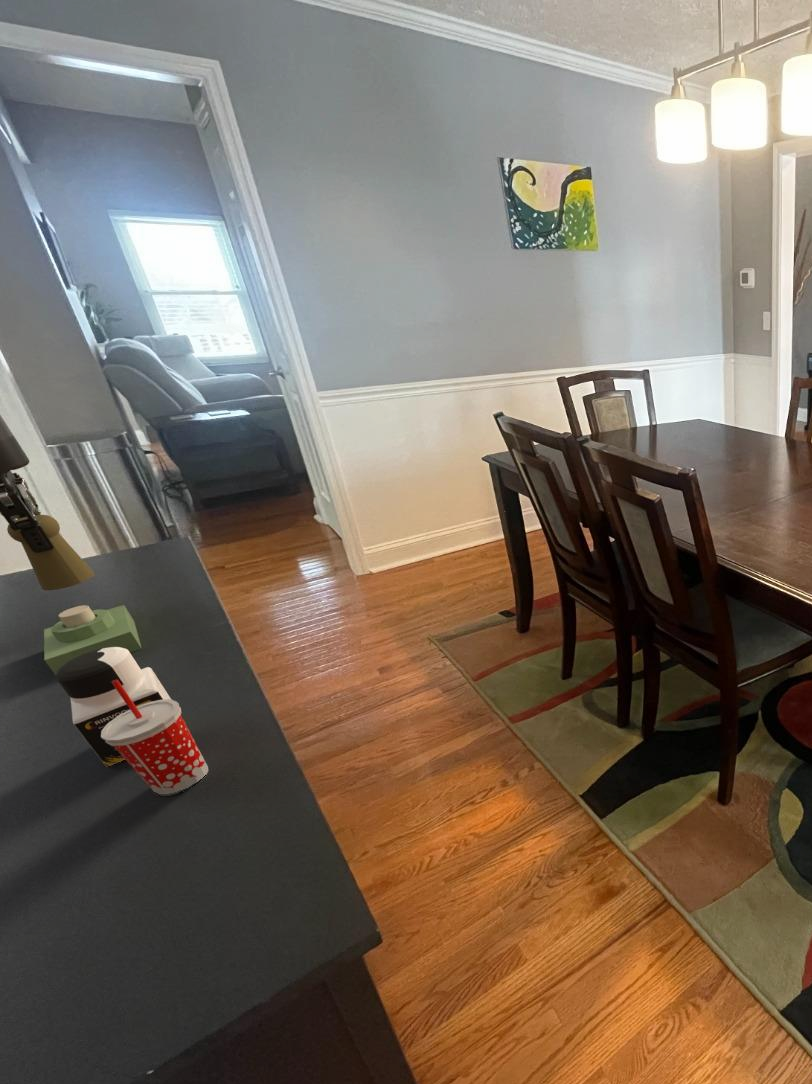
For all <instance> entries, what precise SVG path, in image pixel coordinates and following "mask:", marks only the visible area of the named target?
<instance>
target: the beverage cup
mask: <svg viewBox="0 0 812 1084" xmlns="http://www.w3.org/2000/svg"><path fill="white" fill-rule="evenodd" d="M112 684H113V685H114V687H115V688H116V690H117V691H118V693H119V694H120V695H121V697H122V698H123V700H124V701H125V703H126V704H127V706H128V707H129V708H130V710H128V711H126V712H124V713H122V714H120V715H119V716H117V717H116V718H114V719H113V720H112V721H110V722H109V723H108V724H107V725H106V726H105V727H104V728H103V730H102V731H101V738H102V739H104V740H105V742H106V743H108V744H109V745H111V746H114V747H115V748H116V750H117V751H118V752H119V753H120V754H121V755H122V756H123V757H124V758H125V761H126V762H127V763H128V764H129V766H130V767H131V768H132V769H133V770H134V771H135V772H136V773H137V775H138V776H140V778H141V779H142V780H143V781H144V782H145V783H146V784H147V785H148V787H149V788H150V789H151V790H152V791H153V793H155V792H156V793H158V794H169V793H174V792H177V791H179V790H183V789H185V788H188V787H189V786H191V785H192V784H194V783H196V782H198V781H199V780H200V779H202V778H203V777H204V776H205V775H206V776H207V774H208V772H209V766H208V764H207V761H206V760H205V758H204V756H203V754H202V753H201V751H200V748H199V747H198V744H197V743H196V741H195V739H194V737H193V735H192V733H191V731H190V730H189V727H188V725H187V724H186V722H185V720H184V718H183V716H182V708H181V707H180V703H179V702H178V701H176V700H174V699H171V700H157V701H153V702H148V703H145V704H143V705H140V706H137V707H136V706H135V704H134V703H133V701H132V700H131V698H130V697H129V696H128V694H127V693H126V691H125V690H124V688H123V687H122V685H121V684H120V682H119V681H118V680H117V679H116V680H113V681H112ZM206 776H205V777H206ZM205 777H204V778H205ZM204 778H203V779H204ZM203 779H202V780H203ZM156 793H155V794H156Z"/></svg>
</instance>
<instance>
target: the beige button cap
mask: <svg viewBox="0 0 812 1084" xmlns="http://www.w3.org/2000/svg"><path fill="white" fill-rule="evenodd" d="M58 618H59V620H60V621H62V622H63V623H64V625H65V626H66V628H69V627H75V626H79V625H82V624H85V623H88V622H90V621H92V620H94V619H95V618H96V617H95V615H94V614H93V612H92V609H91V608H90V606H89V605H85V604H84V605H76V606H75V607H71V608H68V609H65V610H63V611H62V612H60V613H58Z"/></svg>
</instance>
